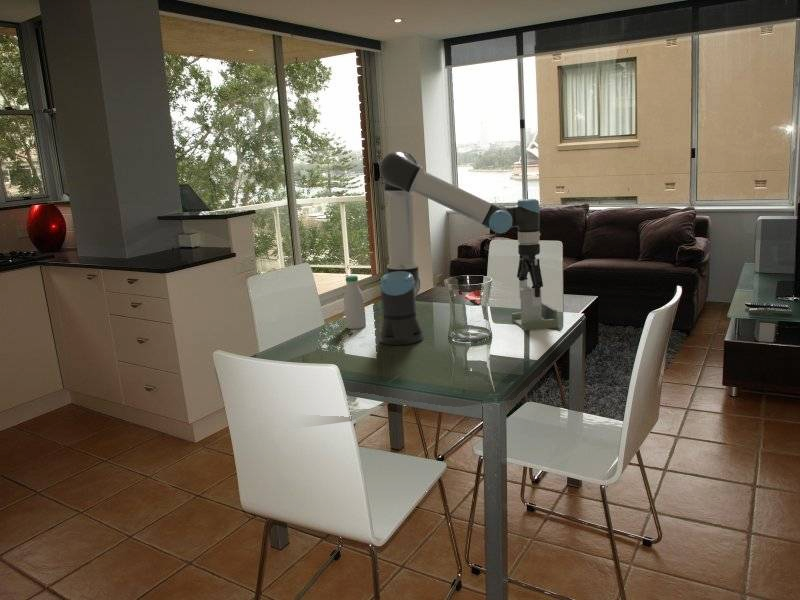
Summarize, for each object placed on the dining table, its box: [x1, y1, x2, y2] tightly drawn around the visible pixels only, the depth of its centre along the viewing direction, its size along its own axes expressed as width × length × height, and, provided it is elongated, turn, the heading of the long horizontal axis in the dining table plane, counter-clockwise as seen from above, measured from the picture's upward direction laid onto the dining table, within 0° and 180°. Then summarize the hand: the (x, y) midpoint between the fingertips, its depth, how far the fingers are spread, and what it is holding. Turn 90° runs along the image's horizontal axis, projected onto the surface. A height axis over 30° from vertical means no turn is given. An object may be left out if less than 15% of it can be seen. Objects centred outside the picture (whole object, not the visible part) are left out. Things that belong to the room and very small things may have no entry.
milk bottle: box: [343, 275, 367, 330], centre depth 250 cm, size 8×8×20 cm
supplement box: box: [519, 285, 542, 324], centre depth 235 cm, size 7×7×13 cm
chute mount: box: [511, 302, 559, 332], centre depth 235 cm, size 12×15×6 cm
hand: (529, 301), depth 234 cm, fingers open, 13 cm apart
